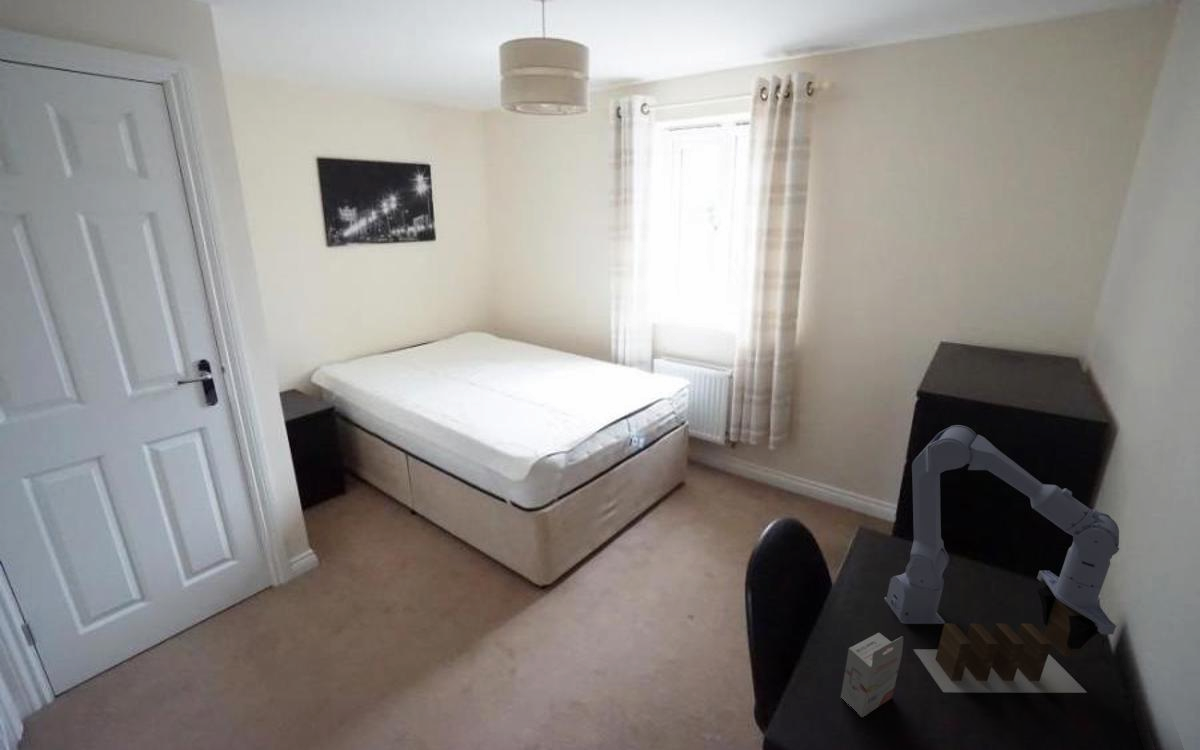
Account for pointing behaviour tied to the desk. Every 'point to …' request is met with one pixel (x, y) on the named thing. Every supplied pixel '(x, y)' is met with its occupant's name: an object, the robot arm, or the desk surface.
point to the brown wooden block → (1060, 627)
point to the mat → (1050, 681)
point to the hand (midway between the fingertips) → (1061, 635)
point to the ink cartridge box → (871, 673)
